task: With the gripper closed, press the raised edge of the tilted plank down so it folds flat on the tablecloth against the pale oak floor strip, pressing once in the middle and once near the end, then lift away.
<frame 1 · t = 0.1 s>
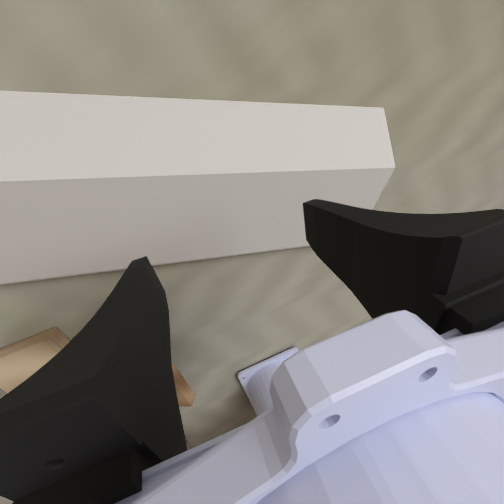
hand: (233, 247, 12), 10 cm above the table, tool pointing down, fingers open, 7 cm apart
plank: (139, 374, 26), point 2 cm above the table, hinge at 25.0°
crown molding: (203, 187, 22), on the table
floor strip: (67, 382, 26), on the table
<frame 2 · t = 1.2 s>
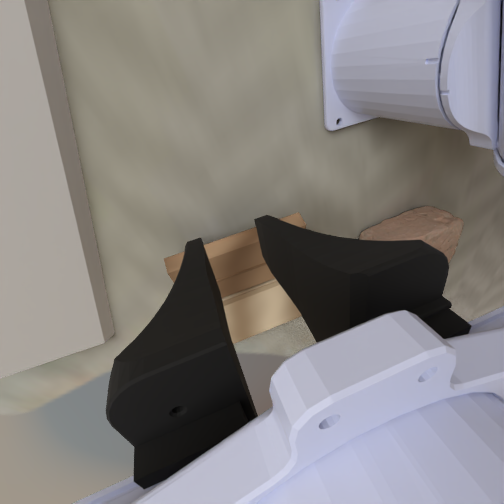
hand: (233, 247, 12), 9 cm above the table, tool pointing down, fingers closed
brick: (386, 272, 33), on the table
plank: (240, 265, 22), point 2 cm above the table, hinge at 25.0°
floor strip: (244, 307, 28), on the table
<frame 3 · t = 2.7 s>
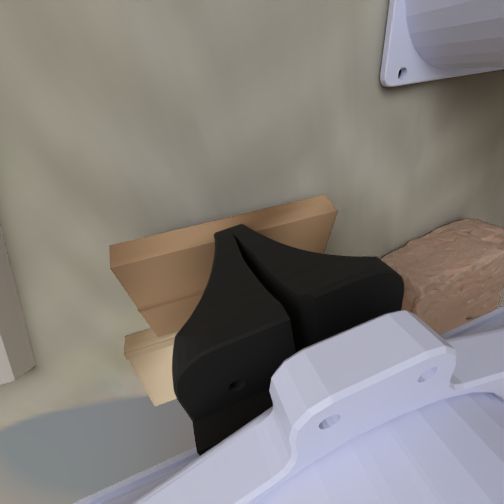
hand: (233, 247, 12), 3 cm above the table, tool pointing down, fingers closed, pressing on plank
brick: (413, 299, 26), on the table
plank: (234, 272, 15), point 2 cm above the table, hinge at 18.7°, touching gripper
floor strip: (234, 335, 20), on the table
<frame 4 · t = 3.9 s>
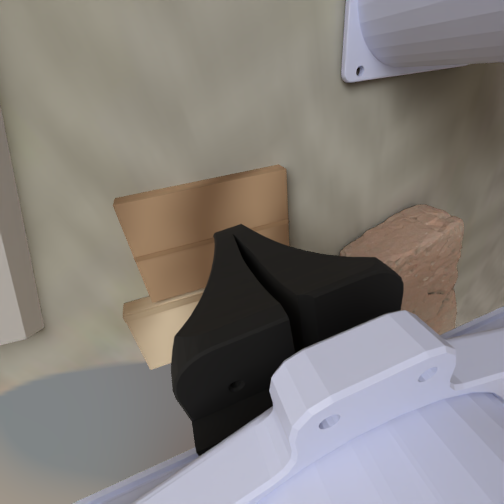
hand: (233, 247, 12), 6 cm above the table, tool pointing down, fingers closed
brick: (386, 280, 28), on the table
plank: (214, 235, 18), point 1 cm above the table, hinge at -0.7°
floor strip: (221, 306, 22), on the table
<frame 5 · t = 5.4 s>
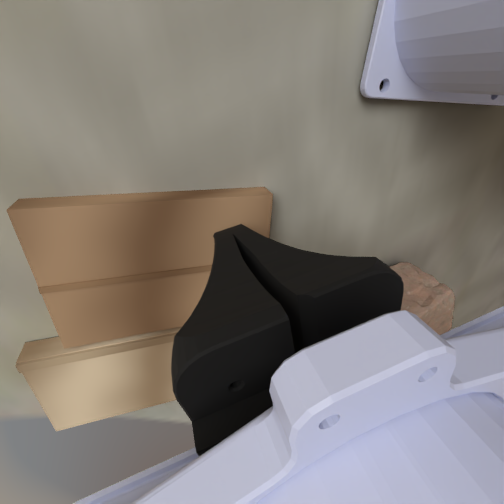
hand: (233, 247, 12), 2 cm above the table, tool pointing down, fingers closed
brick: (368, 336, 25), on the table
plank: (165, 266, 13), point 1 cm above the table, hinge at -0.8°
floor strip: (168, 353, 17), on the table
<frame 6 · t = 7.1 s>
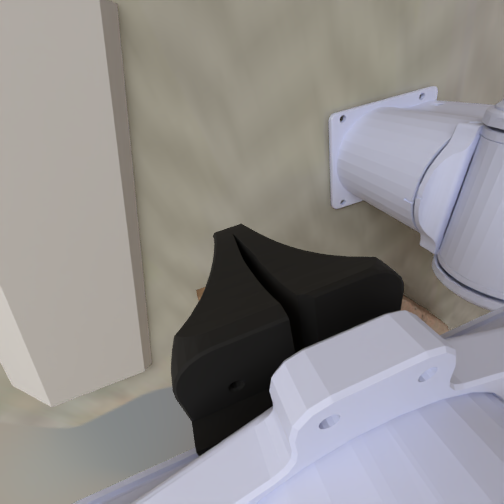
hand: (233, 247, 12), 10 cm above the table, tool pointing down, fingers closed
brick: (378, 312, 38), on the table
plank: (255, 302, 28), point 1 cm above the table, hinge at -0.8°
crown molding: (53, 239, 21), on the table
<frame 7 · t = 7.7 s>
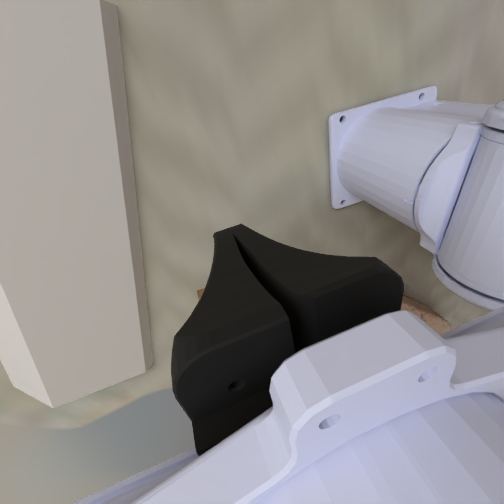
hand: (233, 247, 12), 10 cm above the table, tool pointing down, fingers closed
brick: (379, 312, 38), on the table
plank: (255, 302, 28), point 1 cm above the table, hinge at -0.8°
crown molding: (54, 241, 21), on the table
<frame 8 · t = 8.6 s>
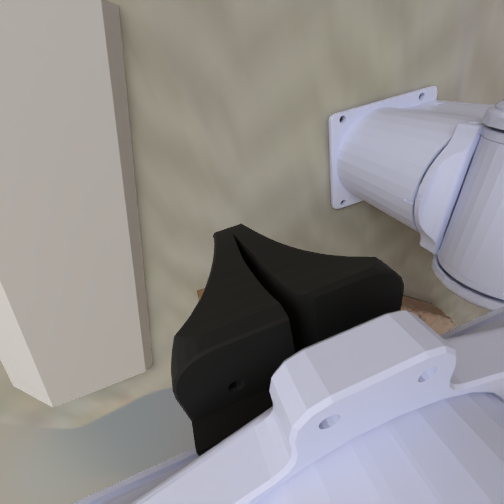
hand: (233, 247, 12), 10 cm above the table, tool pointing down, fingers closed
brick: (378, 313, 38), on the table
plank: (255, 302, 28), point 1 cm above the table, hinge at -0.8°
crown molding: (54, 240, 21), on the table
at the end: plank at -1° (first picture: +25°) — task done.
